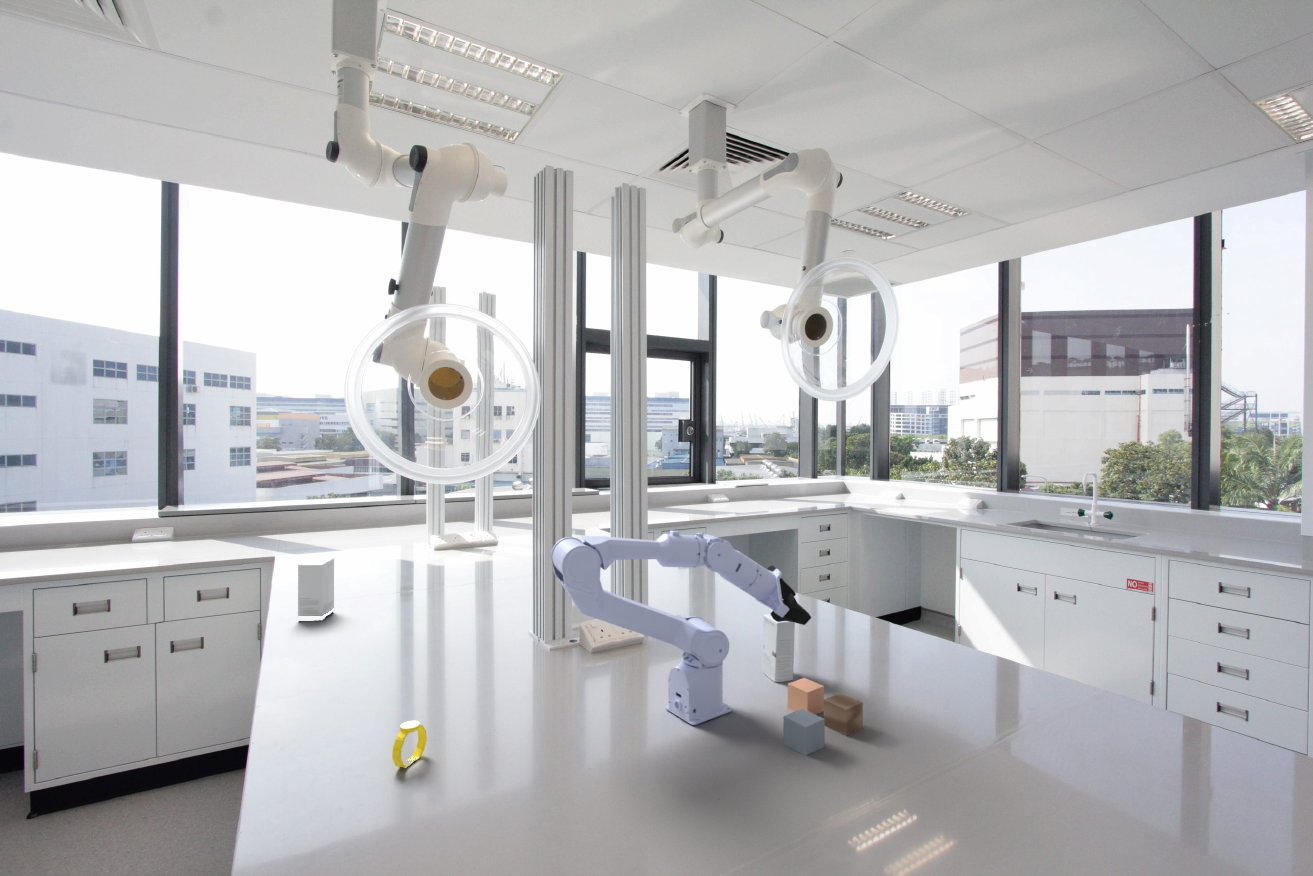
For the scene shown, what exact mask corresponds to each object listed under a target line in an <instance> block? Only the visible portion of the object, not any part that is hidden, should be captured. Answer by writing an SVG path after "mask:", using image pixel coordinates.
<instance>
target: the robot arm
mask: <svg viewBox="0 0 1313 876" xmlns="http://www.w3.org/2000/svg"><path fill="white" fill-rule="evenodd" d="M579 538H580V539H582V540H583V541H582V540H580V539H579ZM579 538H577V537H573V536H565V537H563V538H561V539H559V540H558V541H556V543H555V544H554V545H553V546H552V549H551V551H550V562H551V566H552V570H553V574H554V576H555V578H556V579H557V580H558V582H559V583H560V584H561V586H562V588H563V589H564V591H565V593H566V594H567V595H568V597H569V598H570V600H571V601H572V603H573V605H574V606H575V607H576V609H578V611H579V612H580V613H582V614H583V615H585V616H587V617H591V618H594V619H595V620H599V621H602V622H605V623H607V624H612V625H615V626H618V627H620V628H623V629H626V630H628V631H632V632H635V633H637V634H640V635H644V636H646V637H648V638H649V637H650V638H652V639H655V640H658V641H661V642H664V643H667V644H670V645H672V646H675V647H676V648H677V649H680V650H682V659H681V661H680V662H679V663H678V664H677V665H676V666H674V667H672V668H671V669H670V671H669V674H668V678H667V679H668V681H667V682H668V690H667V691H668V704H667V705H665V710H667V711H668V712H670V713H672V714H673V715H675V716H677V717H679V718H680V719H682V720H683V721H685V722H686V723H688V724H690V725H691V726H696V725H699V724H701V723H704V722H707V721H709V720H712V719H714V718H717V717H720V716H724V715H726V714H728V713H731V712H733V711H734V707H732V706H731V705H729V704H727V703H726V702H724V699H723V698H724V697H723V694H724V692H723V691H724V690H723V685H724V684H723V681H724V680H723V664H724V660H725V659H726V658H727V656H728V655H729V652H730V642H729V641H730V640H729V638H728V635H726V633H725V632H724V631H722V630H719V629H717V628H715V627H714V626H712V625H710V624H709V623H708V622H706V621H705V620H704V619H703V618H702V617H700V616H697V615H691V616H681V615H679V614H671V613H670V612H666V611H664V610H661V609H658V608H656V607H652V606H650V605H647V604H645V603H644V604H643V603H641V602H639V601H635V600H633V599H630V598H627V597H624V596H622V595H619V594H617V593H613V592H611V591H608V590H605V589H603V586H602V582H601V569H602V570H604V571H605V570H607V569H608V568H610V566H611V565H612V564H613V563H614V562H615V561H620V560H656V561H657V562H658V564H659V565H660V566H661V567H663V568H693V569H694V568H699V567H705V568H706V569H709V570H710V571H711V572H715V573H716V574H718V575H719V577H721V578H722V579H723V580H726V581H727V582H729V583H730V584H731V585H734V586H735V587H737V588H738V589H739V590H742V591H743V592H745V593H746V594H748V595H750V596H751V597H753V598H754V599H755V600H756V601H757V602H759V603H760V604H761V605H763V606H766V607H767V608H770V609H771V610H772V611H771V612H770V613H769V614H771V616H772V618H773V619H774V620H775V621H777V622H781V621H790V622H795V624H799V625H802V626H806V624H808V622H809V621H810V620H811V619H812V616H811V615H810V613H809V612H808V611H807V610H806V609H805V608H804V607H803V606H801V604H799V602H798V601H797V600H796V595H797V593H796V592H795V591H794V589H793V588H792V587H791V586H790V585H789V584H788V583H787V582H786V581H785V580H784V579H783V578H782V577H783V573H782V571H781V570H780V569H778V568H776V567H775V566H774V565H770V566H769V567H767V568H765V567H764V566H762V565H761V564H759V563H758V562H756V561H755V560H753V559H752V558H750V557H749V556H747V555H746V554H744V553H743V552H742V551H739V550H737V549H735V548H734V547H733V545H732V544H731V542H730V541H728V540H727V539H726V540H725V539H724V538H721V537H717V536H715V535H713V534H708V533H704V532H696V533H695V534H681V533H680V532H679V531H678V530H670V531H669V533H663V534H661V535H660V536H659V537H658V538H656V539H655V540H651V539H641V538H640V539H639V538H638V539H637V538H627V537H618V536H617V537H616V536H604V535H603V536H601V535H600V536H596V535H595V536H593V535H583V536H579Z"/></svg>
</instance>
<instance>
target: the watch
mask: <svg viewBox="0 0 1313 876" xmlns="http://www.w3.org/2000/svg"><path fill="white" fill-rule="evenodd" d="M414 732H417V738H418V739H417V743H416V746H415V747H416V748H415V750H414V751H413V754H412V756H410V757H411V759H410V758H408V759H407V760H408V761H409V760H410V761H411V760H412V762H413V760H415V758H416V759H417V758H419V757H422V756H423V753H424V752H425V749H426V745H427V744H426V743H427V739H428V738H427V730H426V729H425V727H424V725H422V724H420V721H418V720H408V721H405V722H402V723H401V724H400V725H399V733H398V734H397V736H396V738H395V740H394V744H393V746H392V755H391V756H392V761H393V763H394V766H395V767H398V768H400V767H403V768H402V769H405V767H407V765H404V764H403V763H404V762H403V759H402V749H403V745H404V742H405V740H406V738H407V737H408V735H409V734H411V733H414ZM413 755H414V756H415V757H414V756H413ZM421 755H422V756H421ZM413 757H414V758H413ZM412 762H411V763H412ZM409 763H410V762H409Z"/></svg>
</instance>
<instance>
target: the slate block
mask: <svg viewBox="0 0 1313 876" xmlns="http://www.w3.org/2000/svg"><path fill="white" fill-rule="evenodd" d="M825 727H826V726H825V725H824V717H821V716H820V715H818V714H813V713H811V712H809V711H806V710H804V709H800V710H797V711H793V712H790V713H788V714H785V715H783V745H785V746H787V747H789V748H790V749H793V750H794V751H796V752H798V753H800V754H802V755H803V754H804V755H803V756H808V754H809V755H810V753H811V754H812V752H813V753H814V751H815V752H816V750H817V751H818V749H819V750H821V749H823V748H824V747H825V736H826V735H825ZM822 747H823V748H822ZM820 748H821V749H820Z"/></svg>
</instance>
